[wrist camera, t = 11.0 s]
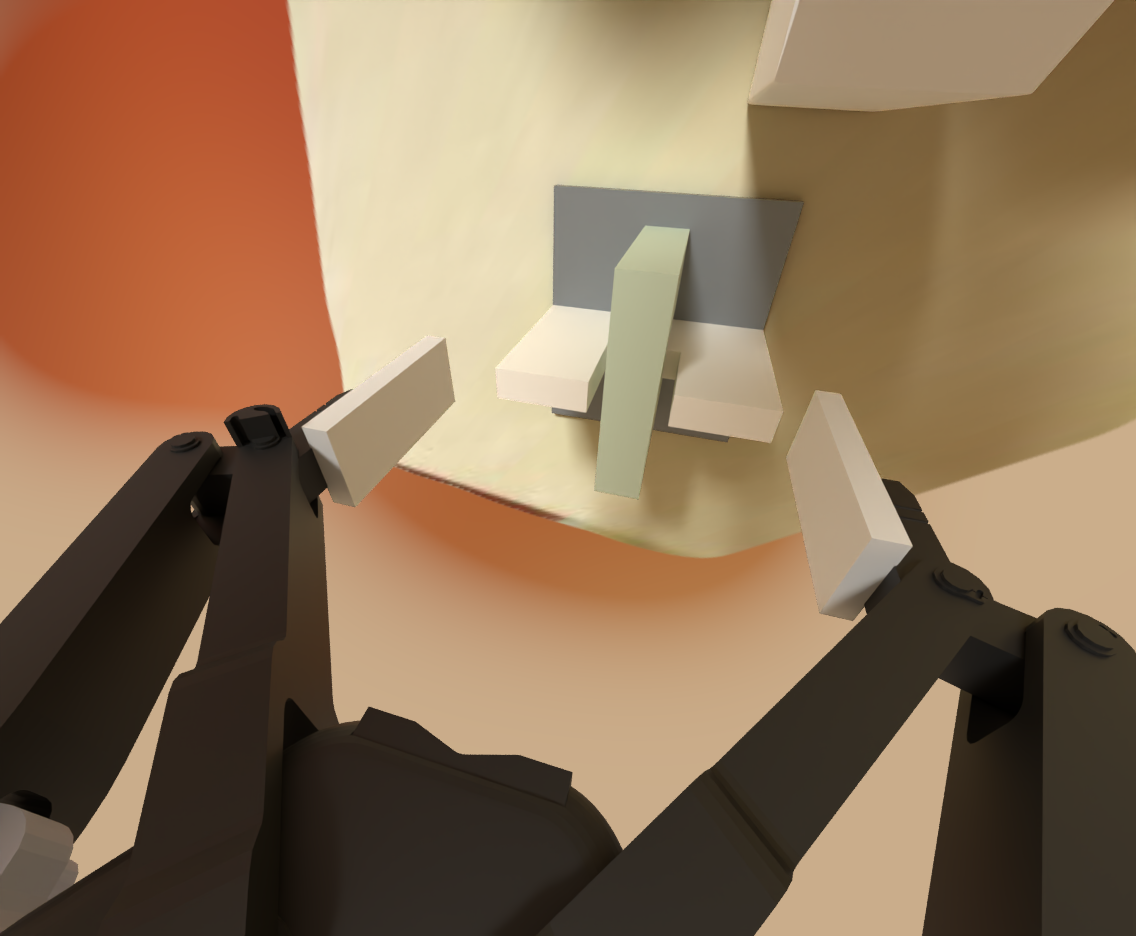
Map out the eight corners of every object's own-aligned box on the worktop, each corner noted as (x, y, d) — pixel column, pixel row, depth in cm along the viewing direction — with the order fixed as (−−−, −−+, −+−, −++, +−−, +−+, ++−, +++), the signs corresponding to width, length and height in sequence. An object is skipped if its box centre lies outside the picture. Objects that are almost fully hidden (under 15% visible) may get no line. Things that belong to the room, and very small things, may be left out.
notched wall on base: (553, 409, 41) (505, 494, 32) (556, 184, 30) (482, 210, 20) (727, 438, 38) (731, 541, 29) (802, 201, 27) (851, 240, 17)
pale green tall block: (645, 225, 30) (614, 268, 20) (689, 229, 29) (679, 274, 20) (622, 404, 38) (594, 490, 29) (656, 409, 38) (638, 499, 29)
